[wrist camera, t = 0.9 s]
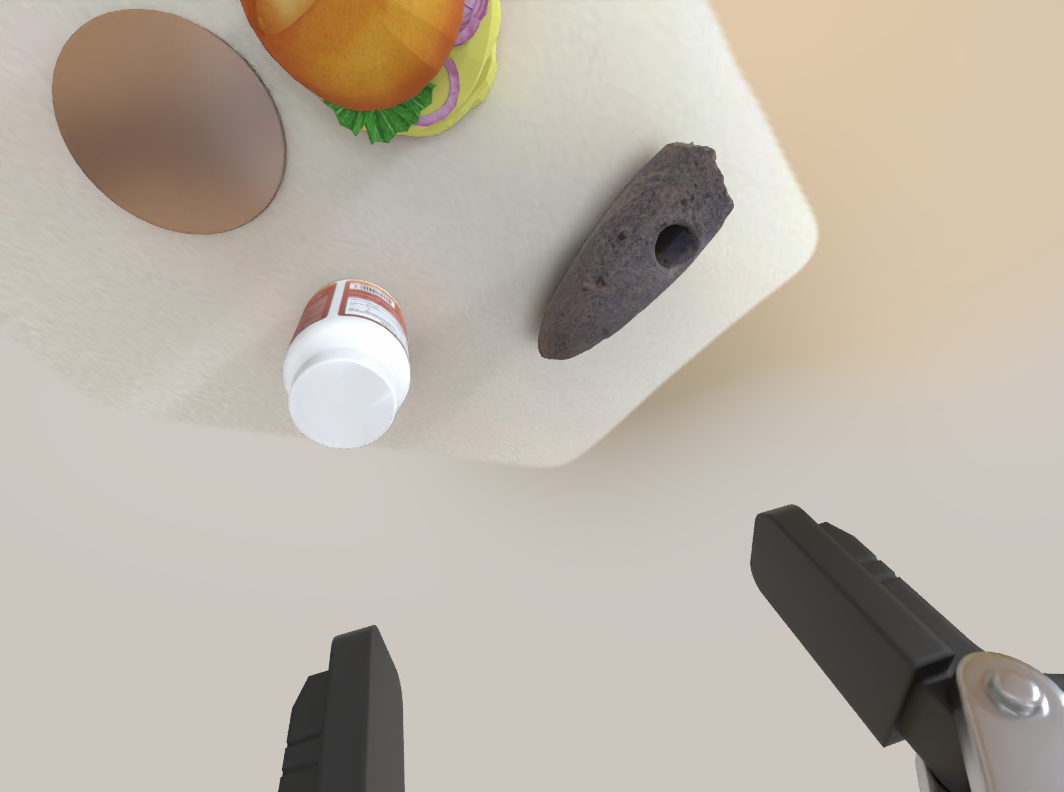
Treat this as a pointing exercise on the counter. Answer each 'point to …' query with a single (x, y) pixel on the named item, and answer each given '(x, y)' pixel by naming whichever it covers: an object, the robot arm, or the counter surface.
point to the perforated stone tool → (637, 249)
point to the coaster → (169, 121)
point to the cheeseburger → (385, 58)
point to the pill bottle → (347, 365)
